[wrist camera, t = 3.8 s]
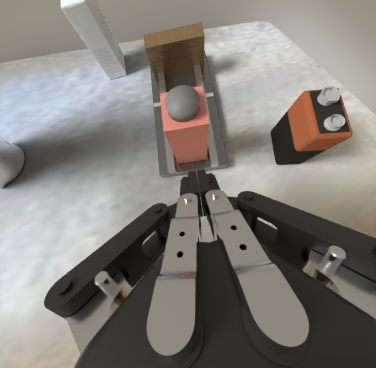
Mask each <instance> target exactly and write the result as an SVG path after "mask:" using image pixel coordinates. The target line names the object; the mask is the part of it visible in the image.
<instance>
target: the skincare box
mask: <svg viewBox="0 0 376 368" xmlns="http://www.w3.org/2000/svg"><path fill="white" fill-rule="evenodd" d="M61 9H62V10H63V12H64V13H65V14H66V16H67V18H68V19H69V20H70V22H71V23H72V25H73V26H74V28H75V29H76V31H77V32H78V34H79V35H80V36H81V38H82V39H83V41H84V42H85V44H86V45H87V47H88V48H89V50H90V51H91V53H92V54H93V55H94V57H95V58H96V60H97V61H98V63H99V64H100V66H101V67H102V69H103V70H104V71H105V73H106V74H107V76H108V77H109V79H114V78H118V77H122V76H125V75H127V74H126V68H125V61H124V55H123V53H122V51H121V49H120V47H119V45H118V43H117V41H116V39H115V37H114V35H113V33H112V31H111V29H110V27H109V25H108V24H107V21H106V19H105V17H104V15H103V13H102V11H101V9H100V7H99V5H98V3H97V1H96V0H61Z"/></svg>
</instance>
